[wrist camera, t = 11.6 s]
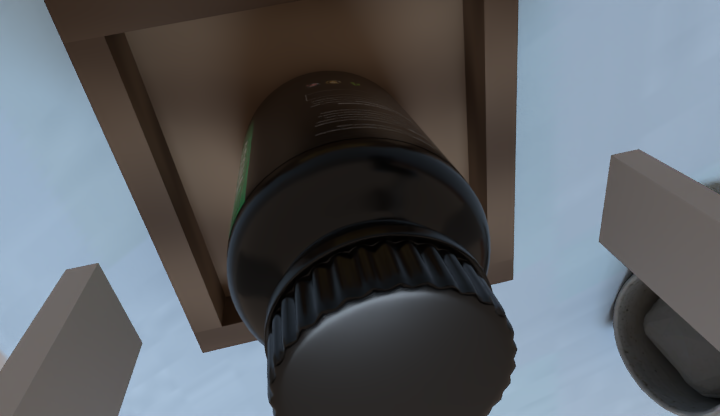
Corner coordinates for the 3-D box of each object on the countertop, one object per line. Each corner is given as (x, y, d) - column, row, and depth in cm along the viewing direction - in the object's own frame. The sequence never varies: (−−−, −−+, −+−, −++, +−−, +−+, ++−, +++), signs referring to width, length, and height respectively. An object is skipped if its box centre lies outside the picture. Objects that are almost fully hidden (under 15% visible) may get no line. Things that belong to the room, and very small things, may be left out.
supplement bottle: (206, 149, 18) (118, 408, 8) (335, 26, 17) (440, 140, 6) (323, 250, 21) (373, 530, 11) (440, 153, 20) (624, 368, 10)
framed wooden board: (-13, -207, 13) (-82, -246, 11) (487, -277, 14) (535, -329, 12) (206, 314, 23) (198, 359, 20) (492, 248, 24) (518, 283, 22)
